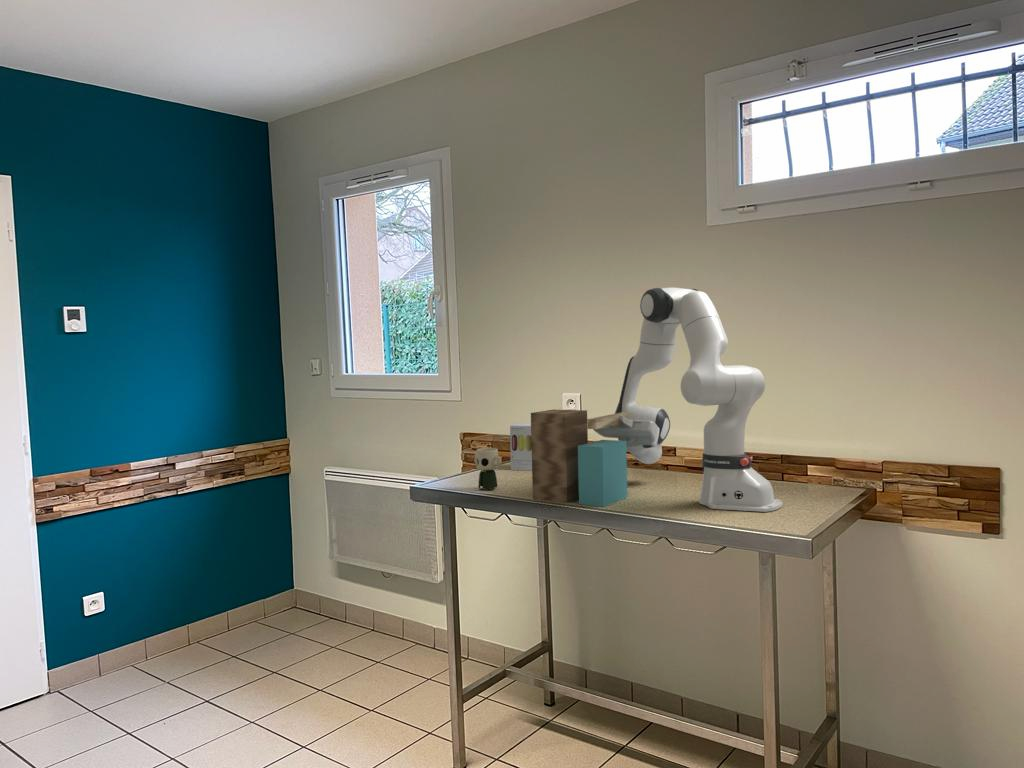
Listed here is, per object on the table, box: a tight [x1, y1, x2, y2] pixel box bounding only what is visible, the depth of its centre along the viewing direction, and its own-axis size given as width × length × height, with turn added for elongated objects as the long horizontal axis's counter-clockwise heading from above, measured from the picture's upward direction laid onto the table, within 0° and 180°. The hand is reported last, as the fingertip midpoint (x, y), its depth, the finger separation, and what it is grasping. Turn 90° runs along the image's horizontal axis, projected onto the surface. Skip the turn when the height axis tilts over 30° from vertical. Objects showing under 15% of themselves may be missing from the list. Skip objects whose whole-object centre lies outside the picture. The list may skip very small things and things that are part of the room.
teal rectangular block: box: [578, 439, 628, 508], centre depth 228 cm, size 8×15×17 cm, turn 145°
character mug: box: [474, 447, 501, 490], centre depth 251 cm, size 11×7×13 cm, turn 49°
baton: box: [587, 412, 631, 430], centre depth 231 cm, size 3×22×3 cm, turn 145°
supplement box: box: [509, 422, 532, 471], centre depth 292 cm, size 10×9×17 cm
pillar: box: [530, 409, 589, 504], centre depth 235 cm, size 12×13×26 cm
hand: (614, 418), depth 234 cm, fingers closed on baton, 3 cm apart
